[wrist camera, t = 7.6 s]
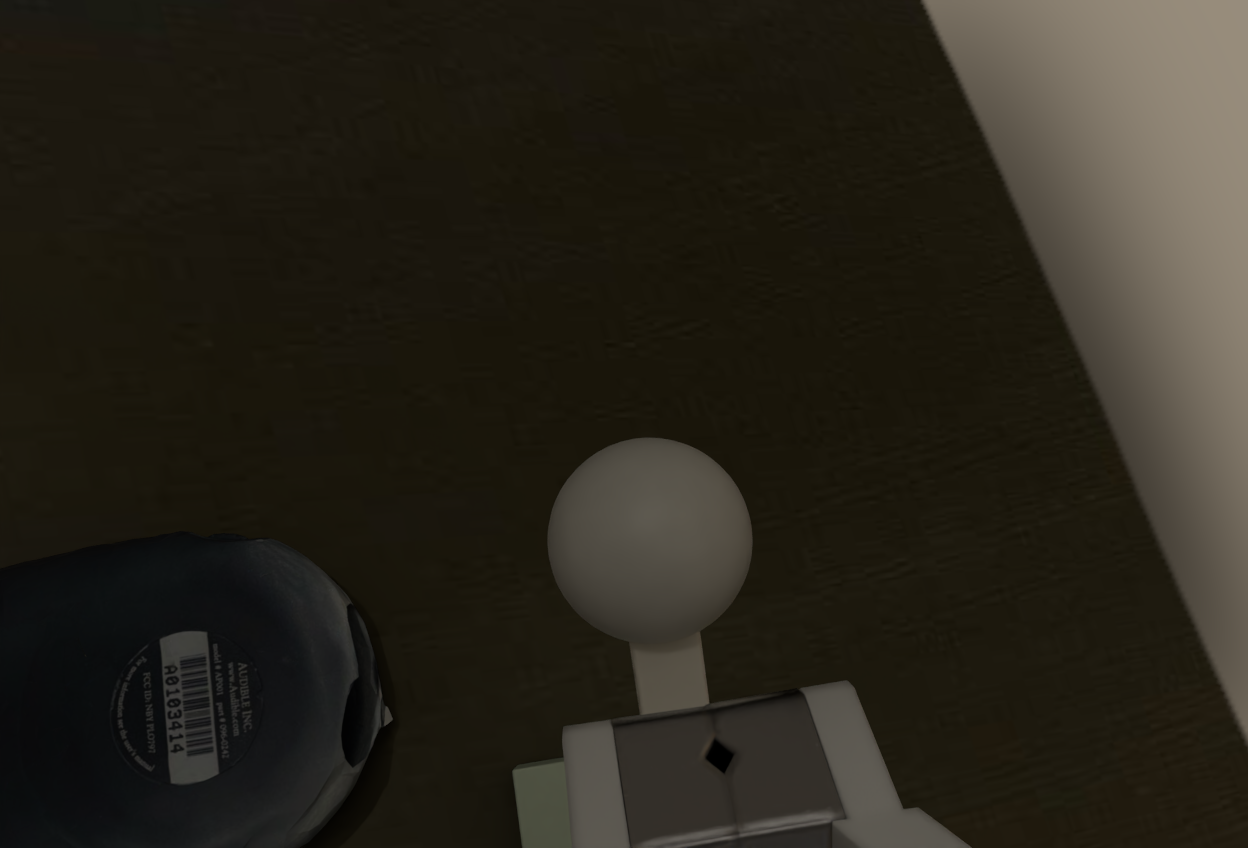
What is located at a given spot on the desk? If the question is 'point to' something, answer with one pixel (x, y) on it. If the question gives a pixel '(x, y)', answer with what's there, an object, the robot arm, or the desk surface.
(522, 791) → the switch base
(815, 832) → the robot arm
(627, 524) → the switch lever
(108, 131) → the desk surface
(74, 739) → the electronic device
